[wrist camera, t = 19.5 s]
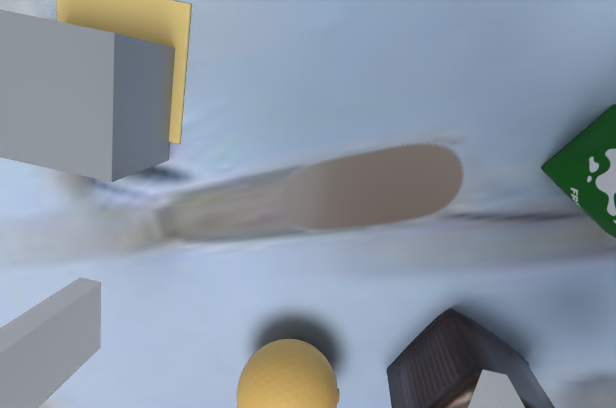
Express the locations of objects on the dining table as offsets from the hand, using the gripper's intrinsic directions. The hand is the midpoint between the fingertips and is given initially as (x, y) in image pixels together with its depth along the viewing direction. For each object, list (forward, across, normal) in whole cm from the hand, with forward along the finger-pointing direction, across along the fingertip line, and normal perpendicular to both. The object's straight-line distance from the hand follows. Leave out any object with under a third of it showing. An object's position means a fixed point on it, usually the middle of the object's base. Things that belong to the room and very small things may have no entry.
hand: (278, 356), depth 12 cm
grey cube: (+22, +21, -5) cm, 31 cm away
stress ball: (+24, 0, +19) cm, 31 cm away
